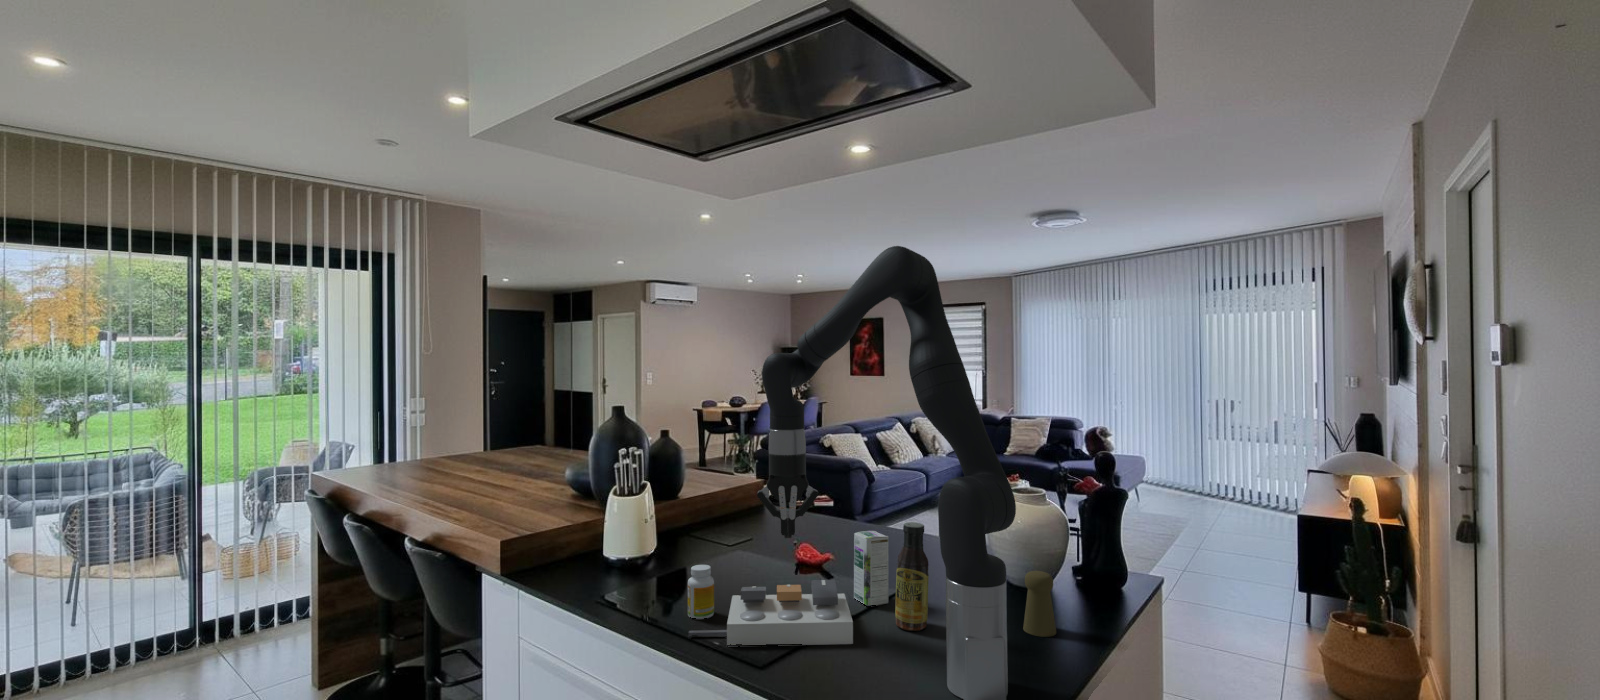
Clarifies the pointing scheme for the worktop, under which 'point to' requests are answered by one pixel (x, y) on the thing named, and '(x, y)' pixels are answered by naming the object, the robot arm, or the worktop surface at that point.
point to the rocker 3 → (824, 592)
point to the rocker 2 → (789, 593)
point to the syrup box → (871, 568)
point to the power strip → (786, 622)
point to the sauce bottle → (912, 580)
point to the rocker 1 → (753, 594)
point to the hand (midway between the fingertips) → (788, 537)
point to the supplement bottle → (700, 592)
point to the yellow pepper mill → (1039, 605)
